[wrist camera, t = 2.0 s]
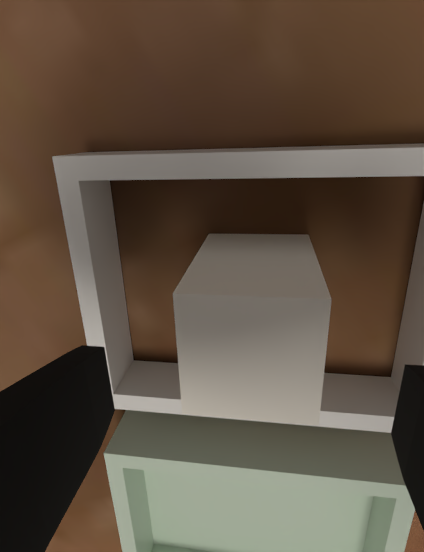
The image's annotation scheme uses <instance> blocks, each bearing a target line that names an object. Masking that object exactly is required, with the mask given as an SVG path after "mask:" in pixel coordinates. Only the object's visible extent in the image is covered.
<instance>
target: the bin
mask: <svg viewBox="0 0 424 552" xmlns="http://www.w3.org/2000/svg"><path fill="white" fill-rule="evenodd" d="M52 159H53V164H54V169H55V175H56V180H57V185H58V191H59V196H60V202H61V207H62V212H63V218H64V223H65V228H66V234H67V239H68V244H69V250H70V255H71V261H72V266H73V271H74V277H75V282H76V287H77V293H78V298H79V303H80V309H81V314H82V320H83V325H84V330H85V336H86V341H87V346H100V347H104V348H105V354H106V360H107V366H108V372H109V378H110V384H111V390H112V396H113V402H114V408H115V409H123V410H134V411H146V412H157V413H169V414H180V415H190V414H182V405H181V393H180V380H179V367H178V363H166V362H151V361H136V360H134V359H133V351H132V344H131V336H130V329H129V321H128V314H127V306H126V299H125V291H124V284H123V276H122V269H121V261H120V253H119V246H118V238H117V231H116V223H115V216H114V208H113V201H112V193H111V186H110V180H168V179H242V178H317V177H391V176H424V143H421V144H383V145H344V146H306V147H268V148H229V149H191V150H153V151H114V152H85V153H76V154H68V155H60V156H52ZM405 364H406V365H423V366H424V202H423V207H422V213H421V218H420V223H419V229H418V234H417V239H416V245H415V250H414V256H413V261H412V266H411V272H410V277H409V282H408V288H407V293H406V299H405V304H404V309H403V315H402V320H401V325H400V331H399V336H398V341H397V347H396V352H395V358H394V363H393V368H392V374H391V377H381V376H365V375H350V374H335V373H324V379H323V389H322V398H321V408H320V418H319V426H318V427H329V428H341V429H352V430H364V431H375V432H387V433H391V431H392V426H393V421H394V416H395V411H396V406H397V401H398V397H399V392H400V387H401V382H402V377H403V372H404V367H405ZM192 416H201V415H192ZM203 417H212V416H203ZM215 418H224V417H215ZM226 419H235V418H226ZM238 420H247V419H238ZM249 421H258V420H249ZM261 422H269V421H261ZM272 423H281V422H272ZM283 424H292V423H283ZM295 425H304V424H295ZM306 426H315V425H306Z"/></svg>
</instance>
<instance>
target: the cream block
mask: <svg viewBox="0 0 424 552" xmlns="http://www.w3.org/2000/svg"><path fill="white" fill-rule="evenodd" d="M331 300H332V299H331V296H330V293H329V291H328V288H327V285H326V282H325V279H324V277H323V274H322V271H321V268H320V265H319V263H318V260H317V257H316V254H315V251H314V249H313V246H312V243H311V240H310V237H309V235H308V234H208V236H207V238H206V239H205V241H204V243H203V244H202V246H201V248H200V249H199V251H198V253H197V254H196V256H195V258H194V259H193V261H192V262H191V264H190V266H189V267H188V269H187V271H186V272H185V274H184V276H183V277H182V279H181V281H180V282H179V284H178V286H177V287H176V289H175V291H174V292H173V303H174V316H175V328H176V341H177V354H178V367H179V380H180V393H181V405H182V414H190V415H201V416H212V417H224V418H235V419H247V420H258V421H269V422H281V423H292V424H304V425H315V426H319V418H320V408H321V398H322V389H323V379H324V369H325V359H326V349H327V339H328V330H329V320H330V310H331Z"/></svg>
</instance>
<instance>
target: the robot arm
mask: <svg viewBox="0 0 424 552" xmlns="http://www.w3.org/2000/svg"><path fill="white" fill-rule="evenodd" d="M114 411H115V408H114V402H113V396H112V390H111V384H110V378H109V372H108V366H107V360H106V354H105V348H104V347H100V346H83V345H82V346H80V347H78V348H76V349H74V350H72V351H70V352H68V353H66V354H64V355H63V356H61V357H59V358H57V359H56V360H54V361H52V362H50V363H49V364H47V365H45V366H44V367H42V368H40V369H38V370H37V371H35V372H33V373H32V374H30V375H28V376H26V377H25V378H23V379H21V380H20V381H18V382H16V383H14V384H13V385H11V386H9V387H8V388H6V389H4V390H2V391H1V392H0V552H45V550H46V548H47V546H48V544H49V542H50V541H51V539H52V537H53V535H54V533H55V531H56V529H57V528H58V526H59V524H60V522H61V520H62V518H63V517H64V515H65V513H66V511H67V509H68V507H69V505H70V504H71V502H72V500H73V498H74V496H75V494H76V493H77V491H78V489H79V487H80V485H81V483H82V482H83V480H84V478H85V476H86V474H87V472H88V470H89V468H90V467H91V465H92V463H93V461H94V459H95V457H96V455H97V453H98V451H99V449H100V447H101V445H102V442H103V440H104V437H105V435H106V433H107V430H108V427H109V425H110V422H111V419H112V417H113V414H114ZM391 436H392V440H393V444H394V448H395V452H396V455H397V459H398V463H399V466H400V470H401V473H402V477H403V480H404V482H405V485H406V488H407V490H408V493H409V495H410V498H411V500H412V503H413V505H414V508H415V510H416V513H417V515H418V518H419V520H420V523H421V525H422V528H423V530H424V366H423V365H406V364H405V367H404V372H403V377H402V382H401V387H400V392H399V397H398V401H397V406H396V411H395V416H394V421H393V426H392V431H391Z"/></svg>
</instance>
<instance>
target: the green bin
mask: <svg viewBox="0 0 424 552" xmlns="http://www.w3.org/2000/svg"><path fill="white" fill-rule="evenodd" d="M104 457H105V463H106V468H107V473H108V478H109V483H110V489H111V494H112V499H113V504H114V510H115V515H116V520H117V525H118V530H119V536H120V541H121V546H122V551H123V552H404V550H405V546H406V542H407V539H408V535H409V531H410V527H411V523H412V519H413V516H414V512H415V508H414V505H413V503H412V500H411V498H410V495H409V493H408V490H407V488H406V485H405V482H404V480H403V477H402V473H401V470H400V466H399V463H398V459H397V455H396V452H395V448H394V444H393V440H392V436H391V433H384V432H373V431H361V430H350V429H338V428H327V427H315V426H304V425H293V424H281V423H270V422H258V421H247V420H235V419H224V418H212V417H201V416H190V415H178V414H167V413H155V412H144V411H132V410H126V411H125V413H124V415H123V417H122V419H121V421H120V423H119V425H118V427H117V428H116V430H115V432H114V434H113V436H112V438H111V440H110V442H109V444H108V446H107V448H106V450H105V452H104Z"/></svg>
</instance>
